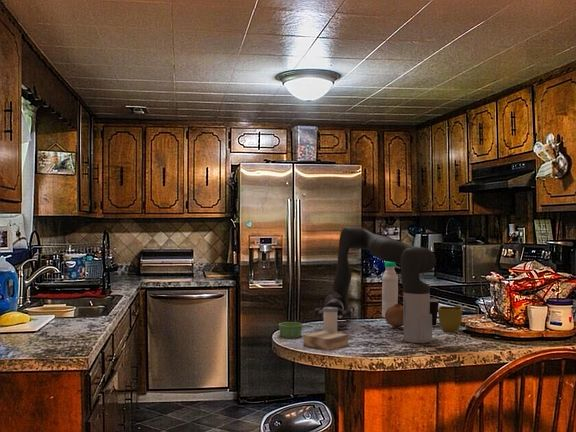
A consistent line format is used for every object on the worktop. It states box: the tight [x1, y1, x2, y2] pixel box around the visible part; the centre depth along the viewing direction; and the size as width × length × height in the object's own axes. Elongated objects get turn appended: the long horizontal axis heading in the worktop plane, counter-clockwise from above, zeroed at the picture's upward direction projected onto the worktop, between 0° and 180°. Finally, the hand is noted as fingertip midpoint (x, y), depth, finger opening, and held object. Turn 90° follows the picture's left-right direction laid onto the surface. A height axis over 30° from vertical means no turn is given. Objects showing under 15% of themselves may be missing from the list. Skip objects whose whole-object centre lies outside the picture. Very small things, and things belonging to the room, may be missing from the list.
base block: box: [302, 329, 349, 351], centre depth 190 cm, size 11×11×4 cm
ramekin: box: [278, 321, 304, 339], centre depth 206 cm, size 9×9×4 cm
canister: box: [322, 306, 338, 333], centre depth 202 cm, size 5×5×11 cm
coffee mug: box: [430, 298, 440, 327], centre depth 232 cm, size 12×9×10 cm
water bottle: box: [381, 261, 399, 319], centre depth 248 cm, size 7×7×25 cm
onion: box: [384, 303, 403, 329], centre depth 222 cm, size 10×9×10 cm
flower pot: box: [437, 305, 463, 333], centre depth 217 cm, size 9×9×9 cm
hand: (332, 315), depth 212 cm, fingers open, 8 cm apart
